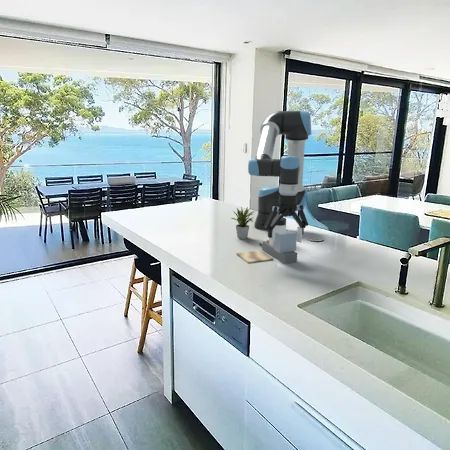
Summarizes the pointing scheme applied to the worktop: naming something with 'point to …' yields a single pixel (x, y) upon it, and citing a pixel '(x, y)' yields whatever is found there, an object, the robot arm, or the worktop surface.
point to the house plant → (242, 223)
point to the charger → (285, 241)
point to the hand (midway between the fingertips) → (285, 243)
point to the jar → (280, 226)
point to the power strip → (283, 257)
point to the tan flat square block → (254, 256)
